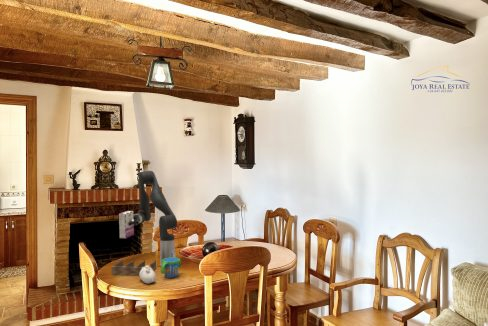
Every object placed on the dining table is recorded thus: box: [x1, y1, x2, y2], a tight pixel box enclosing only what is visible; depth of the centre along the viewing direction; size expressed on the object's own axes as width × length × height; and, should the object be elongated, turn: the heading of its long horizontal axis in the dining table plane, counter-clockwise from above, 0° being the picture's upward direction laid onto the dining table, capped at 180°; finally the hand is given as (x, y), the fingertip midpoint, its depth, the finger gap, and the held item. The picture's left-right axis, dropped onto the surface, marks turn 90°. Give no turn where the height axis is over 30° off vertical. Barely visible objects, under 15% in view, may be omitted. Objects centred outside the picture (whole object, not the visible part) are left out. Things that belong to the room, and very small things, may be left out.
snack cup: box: [160, 256, 182, 279], centre depth 221 cm, size 16×10×10 cm
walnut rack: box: [111, 259, 157, 277], centre depth 230 cm, size 23×15×5 cm, turn 84°
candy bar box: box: [118, 210, 135, 239], centre depth 245 cm, size 11×5×16 cm, turn 169°
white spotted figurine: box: [138, 264, 157, 284], centre depth 212 cm, size 10×8×15 cm
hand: (124, 224), depth 243 cm, fingers closed on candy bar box, 5 cm apart
